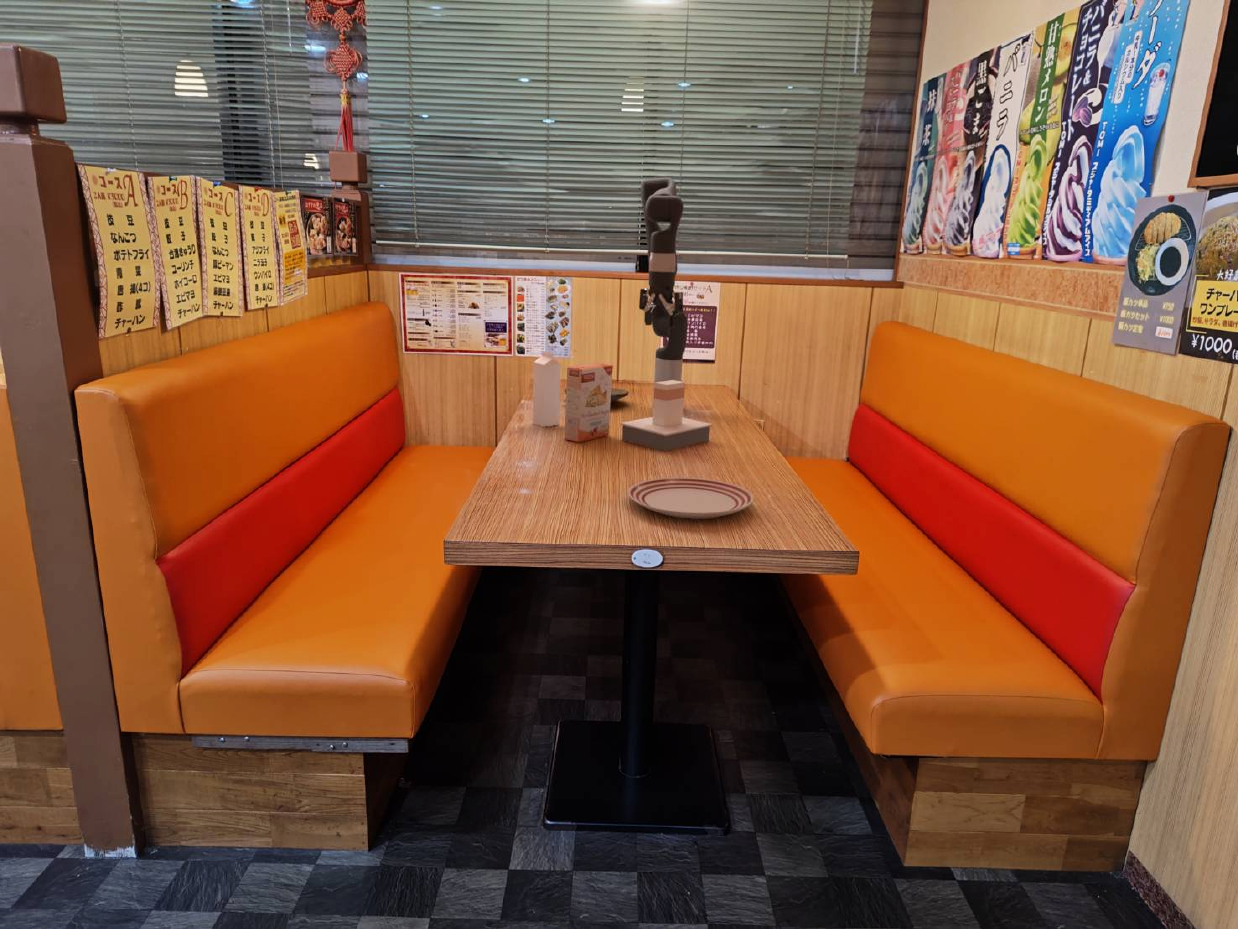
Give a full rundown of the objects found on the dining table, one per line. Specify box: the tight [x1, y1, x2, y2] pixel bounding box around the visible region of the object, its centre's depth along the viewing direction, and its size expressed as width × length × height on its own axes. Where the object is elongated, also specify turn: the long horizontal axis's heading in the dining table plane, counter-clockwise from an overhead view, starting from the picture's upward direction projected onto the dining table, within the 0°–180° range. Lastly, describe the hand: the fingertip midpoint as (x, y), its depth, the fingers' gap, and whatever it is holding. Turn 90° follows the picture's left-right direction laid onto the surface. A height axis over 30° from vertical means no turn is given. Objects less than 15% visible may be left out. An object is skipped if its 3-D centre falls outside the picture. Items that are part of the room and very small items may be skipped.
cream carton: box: [652, 380, 686, 427], centre depth 234 cm, size 5×8×12 cm, turn 137°
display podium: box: [619, 416, 713, 452], centre depth 236 cm, size 21×17×5 cm
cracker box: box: [563, 362, 614, 443], centre depth 233 cm, size 14×6×21 cm, turn 143°
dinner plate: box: [627, 476, 755, 520], centre depth 180 cm, size 27×27×3 cm
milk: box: [532, 350, 562, 428], centre depth 248 cm, size 6×6×22 cm
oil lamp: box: [564, 387, 630, 403], centre depth 287 cm, size 22×30×8 cm
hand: (660, 326), depth 238 cm, fingers open, 8 cm apart
